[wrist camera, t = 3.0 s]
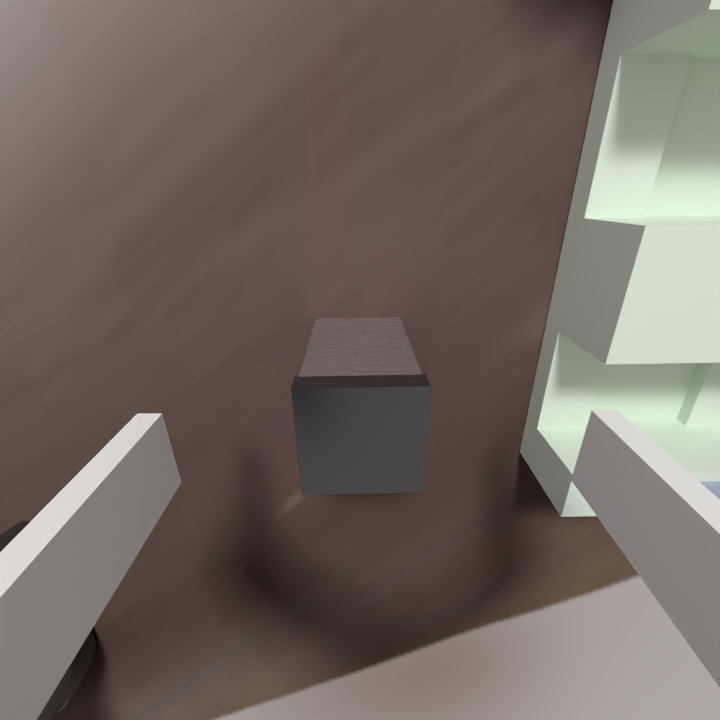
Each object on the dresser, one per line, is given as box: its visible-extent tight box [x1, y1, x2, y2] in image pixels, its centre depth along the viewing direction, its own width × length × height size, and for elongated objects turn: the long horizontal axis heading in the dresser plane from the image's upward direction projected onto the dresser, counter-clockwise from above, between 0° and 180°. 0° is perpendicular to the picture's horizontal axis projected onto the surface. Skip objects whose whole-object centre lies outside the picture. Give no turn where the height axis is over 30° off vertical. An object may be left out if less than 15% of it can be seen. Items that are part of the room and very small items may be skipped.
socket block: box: [520, 0, 720, 517], centre depth 15 cm, size 10×20×5 cm, turn 1°
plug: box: [291, 317, 431, 495], centre depth 15 cm, size 4×4×7 cm
